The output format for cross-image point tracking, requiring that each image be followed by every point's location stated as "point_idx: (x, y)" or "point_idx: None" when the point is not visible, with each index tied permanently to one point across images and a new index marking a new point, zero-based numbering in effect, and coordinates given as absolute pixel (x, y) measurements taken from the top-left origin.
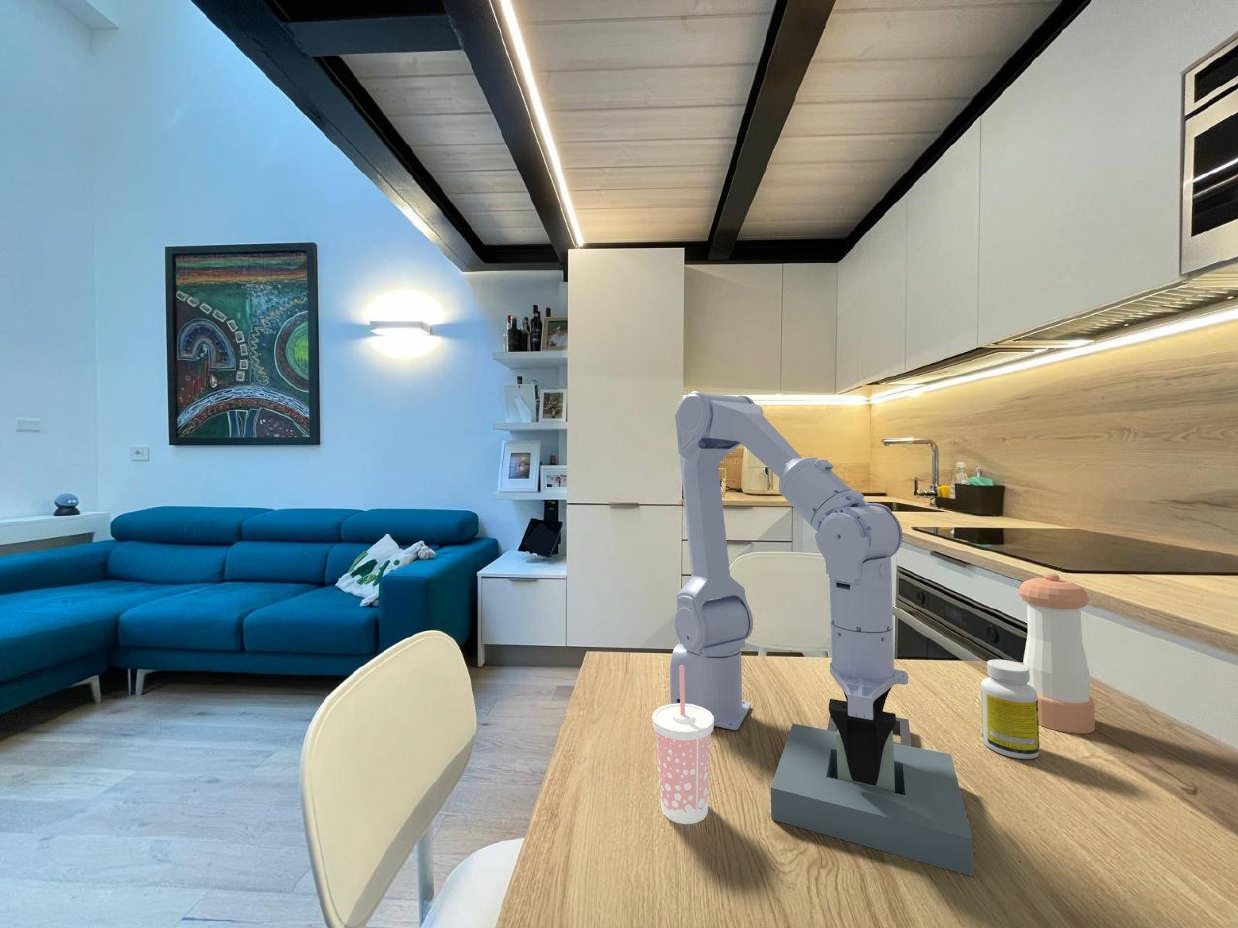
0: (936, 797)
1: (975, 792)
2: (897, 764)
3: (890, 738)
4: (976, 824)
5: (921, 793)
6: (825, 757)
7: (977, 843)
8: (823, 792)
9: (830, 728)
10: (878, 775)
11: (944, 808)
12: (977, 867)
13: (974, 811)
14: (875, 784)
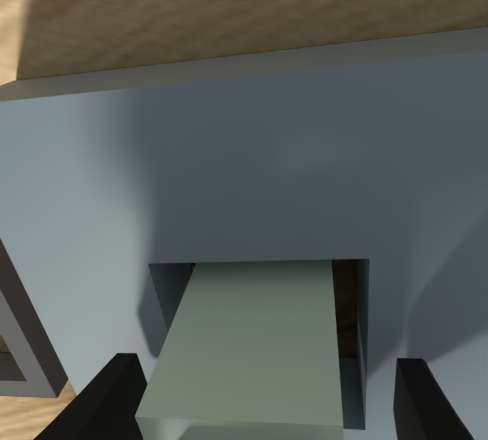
0: (331, 165)
1: (13, 4)
2: (153, 272)
3: (267, 427)
4: (220, 5)
5: (329, 212)
6: None
7: (336, 4)
8: None
9: (26, 391)
10: (434, 384)
11: (407, 139)
12: (479, 7)
13: (141, 10)
14: (424, 361)
